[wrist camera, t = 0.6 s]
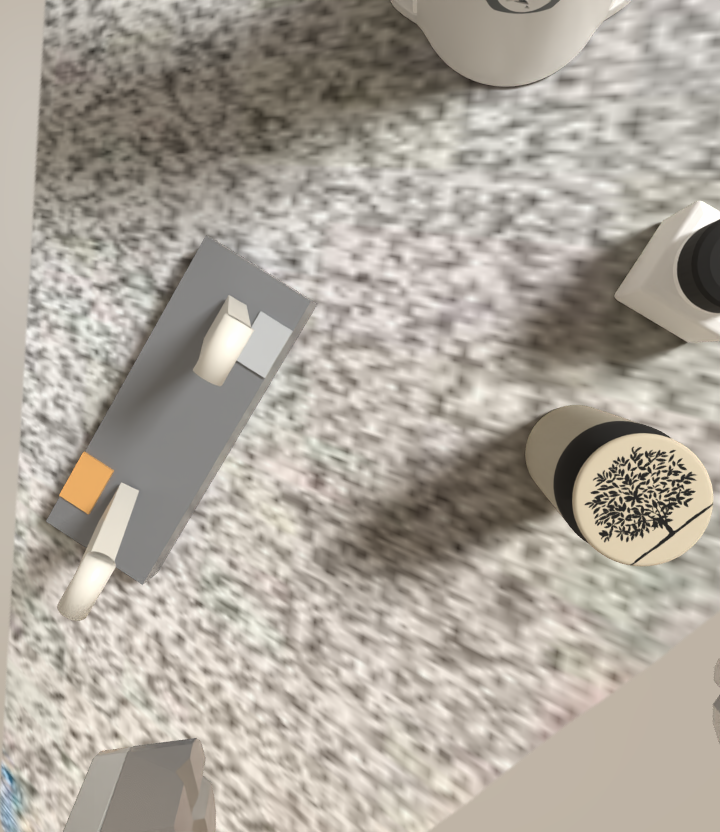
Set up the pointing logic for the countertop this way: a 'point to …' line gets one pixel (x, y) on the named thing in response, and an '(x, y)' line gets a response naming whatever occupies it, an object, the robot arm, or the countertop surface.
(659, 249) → the medicine bottle
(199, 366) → the inner lever
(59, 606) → the outer lever
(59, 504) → the switch unit
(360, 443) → the countertop surface
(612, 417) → the travel mug
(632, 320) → the countertop surface
